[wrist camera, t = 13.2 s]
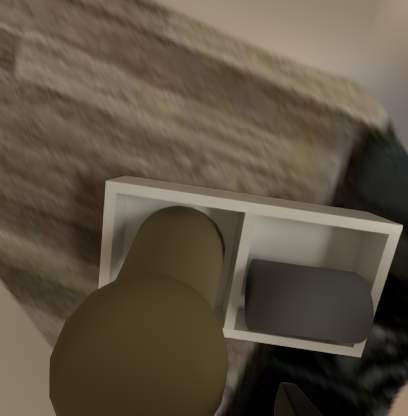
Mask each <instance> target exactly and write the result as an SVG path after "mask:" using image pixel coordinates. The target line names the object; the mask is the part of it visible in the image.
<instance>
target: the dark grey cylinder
mask: <svg viewBox="0 0 408 416" xmlns="http://www.w3.org/2000/svg"><path fill="white" fill-rule="evenodd" d="M373 317H374V308H373V301H372V296H371V293H370V290H369V288H368V286H367V284H366V282H365V281H364V279H363V278H362V277H361V276H360V275H358V274H357V273H354V272H349V271H341V270H334V269H326V268H319V267H312V266H304V265H297V264H289V263H282V262H274V261H267V260H259V259H253V260H252V262H251V264H250V267H249V270H248V275H247V280H246V288H245V319H246V324H247V327H248V329H250V330H257V331H265V332H272V333H280V334H287V335H294V336H302V337H309V338H317V339H324V340H331V341H339V342H346V343H354V344H359V343H362V342H363V341H364V340H366V338H367V337H368V336H369V334H370V331H371V329H372V325H373Z"/></svg>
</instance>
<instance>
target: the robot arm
mask: <svg viewBox="0 0 408 416" xmlns="http://www.w3.org/2000/svg"><path fill="white" fill-rule="evenodd" d="M274 414H275V416H322V414H321V413H320V412H319V411H318V410H317V409H316V407H315V406H314V405H313V404H312V403H311V402H310V400H309V399H308V398H307V397H306V396H305V395H304V393H303V392H302V391H301V390H300V389H299V388H298V387H297V386H296V385H295V384H292V383H285V382H282V383H281V384H280V386H279V389H278V393H277V397H276V401H275V406H274Z"/></svg>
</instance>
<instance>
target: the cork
mask: <svg viewBox="0 0 408 416" xmlns="http://www.w3.org/2000/svg"><path fill="white" fill-rule="evenodd" d="M224 255H225V244H224V239H223V235H222V233H221V231H220V230H219V228H218V226H217V224H216V223H215V222H214V221H213V220H212V219H211V218H210V217H209V216H207V215H206V214H205V213H203V212H201V211H199V210H197V209H194V208H192V207H185V206H178V205H177V206H171V207H166V208H162V209H160V210H158V211H157V212H155V213H153V214H151V215H150V216H149V217H148V218H147V219H146V220H145V221H144V222H143V223H142V224H141V226H140V228H139V230H138V232H137V235H136V237H135V239H134V241H133V243H132V245H131V247H130V250H129V252H128V254H127V256H126V258H125V260H124V263H123V265H122V267H121V269H120V271H119V273H118V276H117V278H116V280H114V281H113V282H111V283H109V284H107V285H105V286H103V287H101V288H99V289H97V290H96V291H94V292H92V293H91V294H90V295H89V296H88V297H87V299H86V300H85V301H84V302H83V303H82V304H81V305H80V306H79V307H78V308H77V309H76V310H75V311H74V313H73V314H72V315H71V316H70V317H69V318H68V319H67V320H66V322H65V324H64V326H63V328H62V331H61V333H60V335H59V337H58V340H57V342H56V345H55V347H54V350H53V352H52V355H51V357H50V399H51V402H52V405H53V407H54V410H55V413H56V416H214V415H215V413H216V411H217V410H218V408H219V406H220V405H221V401H222V397H223V392H224V388H225V382H226V376H227V370H228V357H227V348H226V343H225V338H224V333H223V328H222V326H221V324H220V322H219V320H218V318H217V316H216V314H215V313H214V306H215V301H216V296H217V291H218V286H219V281H220V277H221V272H222V267H223V262H224Z"/></svg>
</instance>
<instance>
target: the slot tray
mask: <svg viewBox="0 0 408 416" xmlns="http://www.w3.org/2000/svg"><path fill="white" fill-rule="evenodd" d="M177 205H178V206H185V207H192V208H194V209H197V210H199V211H201V212H203V213H205V214H206V215H207V216H209V217H210V218H211V219H212V220H213V221H214V222H215V223H216V224H217V226H218V228H219V230H220V231H221V233H222V235H223V239H224V244H225V255H224V262H223V267H222V272H221V277H220V281H219V286H218V291H217V296H216V301H215V306H214V313H215V314H216V316H217V318H218V320H219V322H220V324H221V326H222V328H223V333H224V337H227V338H234V339H241V340H247V341H254V342H261V343H267V344H274V345H281V346H287V347H294V348H301V349H307V350H314V351H321V352H327V353H334V354H341V355H347V356H354V357H361V355H362V352H363V349H364V346H365V343H366V340H367V338H366V340H364V341H363V342H362V343H359V344H354V343H346V342H339V341H331V340H324V339H317V338H309V337H302V336H294V335H287V334H280V333H272V332H265V331H257V330H250V329H248V327H247V324H246V319H245V288H246V280H247V275H248V270H249V267H250V264H251V262H252V260H253V259H259V260H267V261H274V262H282V263H289V264H297V265H304V266H312V267H319V268H326V269H334V270H341V271H349V272H354V273H357V274H358V275H360V276H361V277H362V278H363V279H364V281H365V282H366V284H367V286H368V288H369V290H370V293H371V296H372V301H373V308H374V315H375V312H376V309H377V306H378V302H379V299H380V296H381V293H382V290H383V287H384V284H385V281H386V278H387V275H388V271H389V268H390V265H391V262H392V259H393V256H394V253H395V250H396V247H397V243H398V240H399V237H400V234H401V231H402V228H403V225H400V224H398V223H395V222H392V221H390V220H387V219H384V218H382V217H379V216H376V215H374V214H371V213H368V212H364V211H357V210H351V209H344V208H338V207H331V206H325V205H318V204H311V203H305V202H298V201H292V200H285V199H278V198H272V197H265V196H259V195H252V194H245V193H239V192H232V191H226V190H219V189H212V188H206V187H199V186H193V185H186V184H180V183H173V182H166V181H160V180H153V179H147V178H140V177H133V176H127V175H126V176H122V177H118V178H114V179H110V180H106V186H105V200H104V215H103V229H102V244H101V258H100V273H99V287H98V289H99V288H101V287H103V286H105V285H107V284H109V283H111V282H113V281H114V280H116V278H117V276H118V273H119V271H120V269H121V267H122V265H123V263H124V260H125V258H126V256H127V254H128V252H129V250H130V247H131V245H132V243H133V241H134V239H135V237H136V235H137V232H138V230H139V228H140V226H141V224H142V223H143V222H144V221H145V220H146V219H147V218H148V217H149V216H150V215H151V214H153V213H155V212H157V211H158V210H160V209H162V208H166V207H171V206H177ZM373 318H374V317H373Z"/></svg>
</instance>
